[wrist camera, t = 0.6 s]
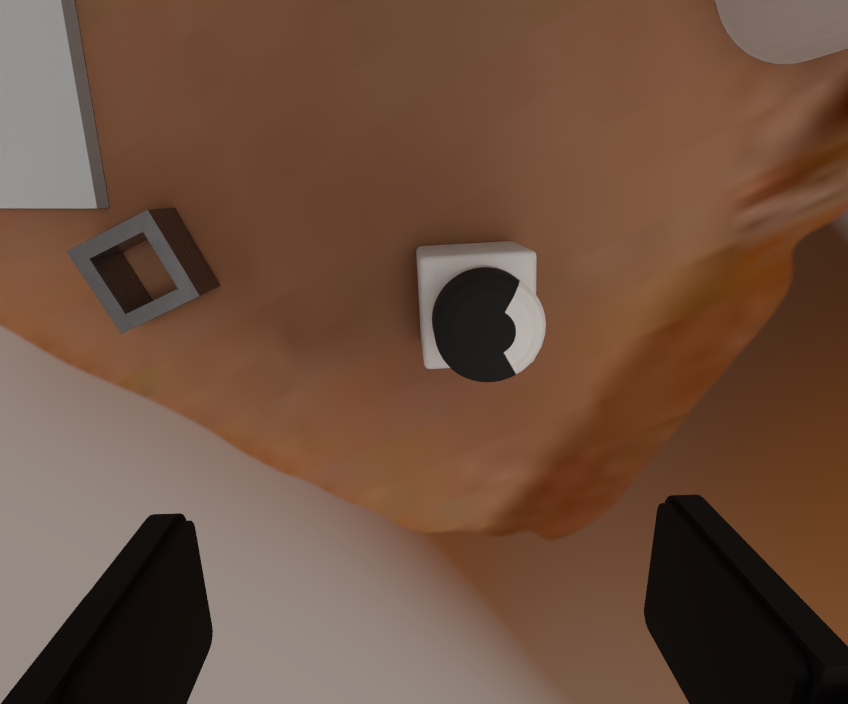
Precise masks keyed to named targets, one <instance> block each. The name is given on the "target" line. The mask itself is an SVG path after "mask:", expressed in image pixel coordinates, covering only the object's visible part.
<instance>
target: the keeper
mask: <svg viewBox="0 0 848 704" xmlns="http://www.w3.org/2000/svg"><path fill="white" fill-rule="evenodd" d="M0 208H109V203H108V197H107V191H106V185H105V179H104V173H103V167H102V161H101V155H100V149H99V143H98V137H97V131H96V125H95V119H94V113H93V107H92V101H91V95H90V89H89V83H88V77H87V71H86V65H85V59H84V53H83V47H82V41H81V35H80V30H79V24H78V18H77V12H76V6H75V0H0Z"/></svg>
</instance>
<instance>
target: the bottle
mask: <svg viewBox="0 0 848 704" xmlns="http://www.w3.org/2000/svg"><path fill="white" fill-rule="evenodd" d="M715 2H716V7H717V11H718V15H719V17H720V19H721V22H722V24H723V26H724V28H725V30H726V32H727V33H728V35H729V36H730V37H731V39H732V40H733V41H734V43H735V44H736V45H737V46H738V47H740V48H741V49H742V50H743V51H744V52H746V53H747V54H748V55H750V56H752V57H754V58H757V59H759V60H761V61H764V62H768V63H773V64H796V63H800V62H804V61H808V60H812V59H815V58H818V57H822V56H825V55H828V54H832V53H835V52H838V51H841V50H845V49H848V0H715Z"/></svg>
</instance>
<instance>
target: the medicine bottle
mask: <svg viewBox="0 0 848 704" xmlns="http://www.w3.org/2000/svg"><path fill="white" fill-rule="evenodd" d="M416 257H417V276H418V294H419V312H420V330H421V343H422V351H423V360H424V365H425V367H426V368H427V369H440V368H451V369H452V370H454V371H455V372H456V373H458V374H459V375H461V376H463V377H465V378H468V379H471V380H474V381H479V382H495V381H501V380H504V379H507V378H510V377H512V376H514V375H516V374H518V373H519V372H521V371H522V370H524V369H525V368H526V367H527V366H528V365H529V364H530V363H532V362H533V361H534V360H535V357H536V355H537V354H538V352H539V350H540V348H541V346H542V343H543V340H544V336H545V328H546V322H545V315H544V311H543V308H542V305H541V303H540V301H539V299H538V298H537V296H536V253H535V252H534V251H532V250H530V249H528V248H526V247H523V246H521V245H519V244H517V243H514V242H512V241H502V242H484V243H466V244H448V245H430V246H420V247H418V248H417V250H416Z"/></svg>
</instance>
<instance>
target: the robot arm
mask: <svg viewBox="0 0 848 704" xmlns="http://www.w3.org/2000/svg"><path fill="white" fill-rule="evenodd" d="M204 583H205V582H204V577H203V571H202V565H201V560H200V554H199V548H198V542H197V536H196V530H195V526H194V524H193V522H192V521H186V518H185V517H184V515H183V514H154V515H150V516H149V517H148V518H147V519H146V520H145V522H144V523H143V524H142V525H141V527H140V528H139V529H138V531H137V532H136V533H135V534H134V536H133V537H132V538H131V539H130V541H129V542H128V543H127V545H126V546H125V547H124V548H123V550H122V551H121V552H120V553H119V555H118V556H117V557H116V559H115V560H114V561H113V562H112V564H111V565H110V566H109V568H108V569H107V570H106V571H105V573H104V574H103V575H102V576H101V578H100V579H99V580H98V581H97V583H96V584H95V585H94V587H93V588H92V589H91V590H90V592H89V593H88V594H87V595H86V596H85V597H84V599H83V600H82V601H81V602H80V604H79V605H78V606H77V607H76V609H75V610H74V611H73V613H72V614H71V615H70V616H69V618H68V619H67V620H66V621H65V623H64V624H63V625H62V627H61V628H60V629H59V630H58V632H57V633H56V634H55V635H54V637H53V638H52V639H51V641H50V642H49V643H48V644H47V646H46V647H45V648H44V649H43V651H42V652H41V653H40V655H39V656H38V657H37V658H36V660H35V661H34V662H33V663H32V665H31V666H30V667H29V668H28V670H27V671H26V672H25V674H24V675H23V676H22V678H21V679H20V680H19V681H18V683H17V684H16V685H15V686H14V688H13V689H12V690H11V691H10V693H9V694H8V695H7V697H6V698H5V699H4V700H3V702H2V703H1V704H187V701H188V699H189V697H190V694H191V692H192V689H193V687H194V685H195V682H196V680H197V678H198V675H199V673H200V671H201V668H202V666H203V663H204V661H205V659H206V656H207V654H208V652H209V649H210V646H211V642H212V632H213V631H212V623H211V618H210V611H209V606H208V600H207V594H206V588H205V584H204ZM644 616H645V621H646V625H647V628H648V630H649V632H650V634H651V635H652V637H653V639H654V641H655V643H656V644H657V646H658V648H659V650H660V652H661V653H662V655H663V657H664V659H665V661H666V662H667V664H668V666H669V668H670V670H671V671H672V673H673V675H674V677H675V679H676V680H677V682H678V684H679V686H680V688H681V689H682V691H683V693H684V695H685V697H686V698H687V700H688V702H689V704H848V646H847V645H846V644H845V643H844V642H843V641H842V640H841V639H840V638H839V637H838V636H837V635H836V634H835V633H834V632H833V631H832V630H831V629H830V628H829V627H828V626H827V625H826V624H825V623H824V622H823V621H822V620H821V618H819V616H818V615H817V614H816V613H815V612H814V611H813V610H812V609H811V608H810V607H809V606H808V605H807V604H806V603H805V602H804V601H803V600H802V599H801V598H800V597H799V596H798V595H797V594H796V593H795V592H794V591H793V590H792V589H791V588H790V587H789V586H788V585H787V584H786V582H785V581H784V580H783V579H782V578H781V577H780V576H779V575H778V574H777V573H776V572H775V571H774V570H773V569H772V568H771V567H770V566H769V565H768V564H767V563H766V562H765V561H764V560H763V559H762V558H761V557H760V556H759V555H758V554H757V553H756V552H755V551H754V550H753V549H752V548H751V547H750V546H749V545H748V544H747V542H746V541H745V540H744V539H743V538H742V537H741V536H740V535H739V534H738V533H737V532H736V531H735V530H734V529H733V528H732V527H731V526H730V525H729V524H728V523H727V522H726V521H725V520H724V519H723V518H722V517H721V516H720V515H719V514H718V513H717V512H716V511H715V510H714V509H713V507H712V506H710V505H709V503H707V501H706V500H705V499H704V498H703V497H701V496H700V495H674V496H673V495H672V496H669V497H668V498H667V499H666V501H665V503H661V504H659V506H658V509H657V516H656V523H655V531H654V538H653V546H652V554H651V561H650V569H649V576H648V584H647V591H646V599H645V607H644Z"/></svg>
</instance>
